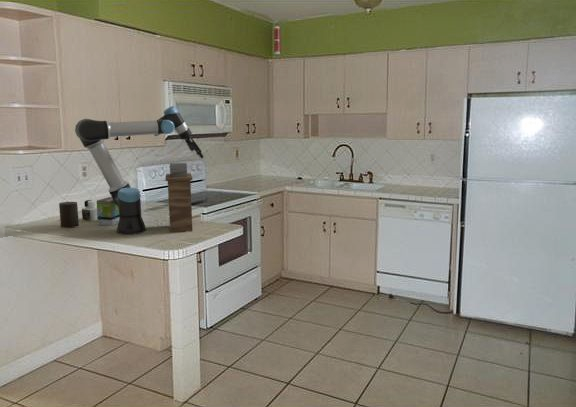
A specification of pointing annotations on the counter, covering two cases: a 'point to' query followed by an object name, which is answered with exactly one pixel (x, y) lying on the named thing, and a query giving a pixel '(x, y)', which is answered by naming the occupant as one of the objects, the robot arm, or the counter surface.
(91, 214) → the medicine bottle
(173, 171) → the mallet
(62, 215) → the pillar candle
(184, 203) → the pedestal
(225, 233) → the counter surface
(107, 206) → the tea box
